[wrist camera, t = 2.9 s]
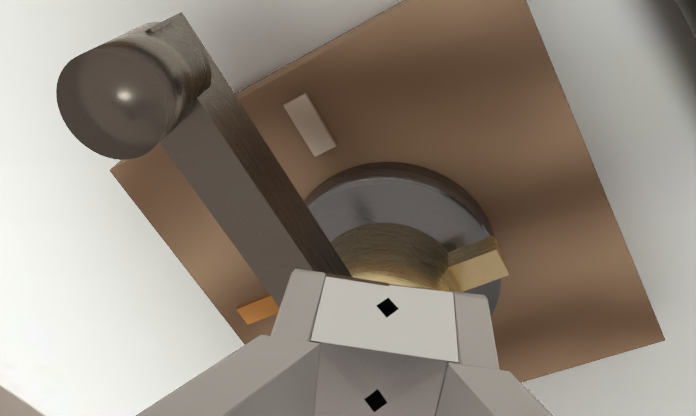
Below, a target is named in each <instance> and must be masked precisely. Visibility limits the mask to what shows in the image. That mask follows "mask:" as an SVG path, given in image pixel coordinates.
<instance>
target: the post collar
mask: <svg viewBox="0 0 696 416" xmlns="http://www.w3.org/2000/svg"><path fill="white" fill-rule="evenodd" d="M304 202H305V204H306V205H307V207H308V209H309V210H310V212H311V213H312V215H313V216H314V218H315V219H316V221H317V222H318V224H319V226H320V227H321V229H322V230H323V232H324V233H325V235H326V236H327V238H328V239H329V241H330V242H331V241H332V240H334V239H335V238H336V237H338V236H339V235H340V234H342V233H344V232H346V231H348V230H350V229H352V228H355V227H358V226H362V225H366V224H372V223H394V224H401V225H405V226H409V227H412V228H415V229H418V230H420V231H422V232H424V233H426V234H428V235H430V236H431V237H433V238H434V239H436V240H437V241H438V242H440V243H441V244H442V245H443V246H444V247H445V248H446V249H447V250H448V251H449V252H451V251H453V250H456V249H459V248H461V247H464V246H466V245H469V244H472V243H474V242H477V241H479V240H482V239H485V238H487V237H490V236H492V235H494V234H493V230H492V228H491V225H490V223H489V220H488V218H487V216H486V215H485V213H484V211H483V210H482V208H481V206H480V205H479V204H478V203H477V202H476V200H475V199H474V198H473V197H472V196H471V195H470V194H469V193H468V192H467V191H466V190H465V189H464V188H463V187H461V186H460V185H458V184H457V183H456V182H454V181H453V180H451V179H450V178H448V177H446V176H444V175H442V174H440V173H438V172H436V171H433V170H430V169H428V168H425V167H421V166H417V165H413V164H408V163H400V162H376V163H368V164H363V165H359V166H355V167H352V168H349V169H346V170H344V171H341V172H339V173H337V174H335V175H333V176H332V177H330V178H328V179H327V180H325V181H324V182H323V183H321V184H320V185H318V186H317V187H316V188H315V189H314V190H313V191H312V192H311V193H310V194H309V195H308V196H307V198H306V199H305V200H304ZM500 284H501V278H500V279H497V280H494V281H491V282H488V283H486V284H483V285H480V286H477V287H475V288H472V289H469V290H466V291H463V293H472V294H481V295H485V296H486V298H487V299H488V304H489V310H490V316H492V314H493V312H494V310H495V307H496V305H497V302H498V298H499V294H500Z"/></svg>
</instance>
